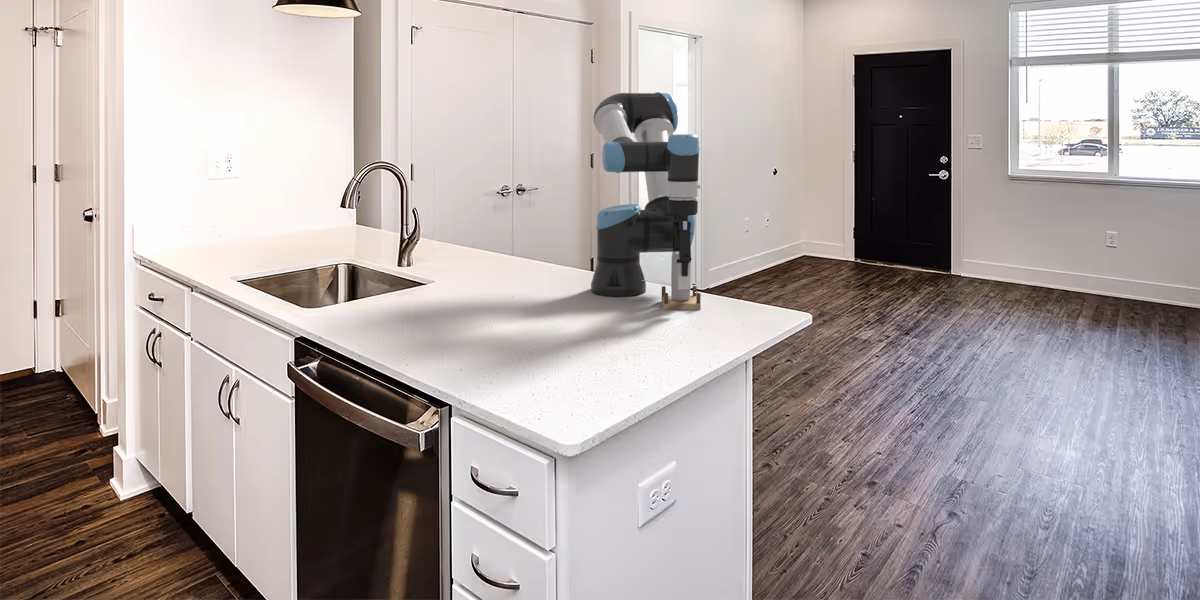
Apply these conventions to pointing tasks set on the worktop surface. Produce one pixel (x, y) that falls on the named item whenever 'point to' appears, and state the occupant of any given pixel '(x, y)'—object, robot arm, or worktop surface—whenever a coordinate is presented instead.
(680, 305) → the stand
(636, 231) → the robot arm
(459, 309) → the worktop surface
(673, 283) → the beverage can
